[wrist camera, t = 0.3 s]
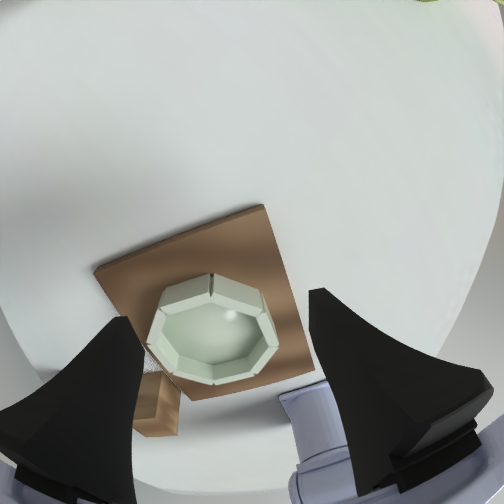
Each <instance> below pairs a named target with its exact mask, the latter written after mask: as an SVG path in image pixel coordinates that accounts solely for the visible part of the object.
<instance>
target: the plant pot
mask: <svg viewBox="0 0 504 504" xmlns="http://www.w3.org/2000/svg"><path fill="white" fill-rule="evenodd" d="M419 1H423V2H430V1H437V0H419ZM493 1H495V2H497V3H500V4H504V0H493Z"/></svg>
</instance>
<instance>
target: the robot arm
mask: <svg viewBox="0 0 504 504" xmlns="http://www.w3.org/2000/svg"><path fill="white" fill-rule="evenodd" d="M309 332H310V336H311V339H312V343H313V346H314V350H315V353H316V355H317V357H318V360H319V362H320V364H321V367H322V369H323V372H324V374H325V376H326V379H327V381H324V382H321V383H318V384H315V385H312V386H309V387H306V388H303V389H300V390H296V391H293V392H290V393H286V394H283V395H280V396H279V400H280V402H281V404H282V406H283V408H284V409H285V411H286V413H287V415H288V417H289V418H290V420H291V424H292V428H293V433H294V438H295V442H296V447H297V451H298V456H299V461H300V464H297V465H296V467H297V471H295V472H293V473H292V475H291V477H290V479H289V483H288V487H289V495H290V499H291V502H292V504H486V503H487V502H488V501H489V500H490V499H491V498H492V497H493V496H494V495H495V494H497V493H498V492H499V491H500V490H501V489H502V488H503V487H504V414H502V415H501V416H500V417H499V418H497V419H496V420H495V421H494V422H492V423H491V424H490V425H488V426H487V427H486V428H485V429H483V430H482V431H481V432H480V433H479V434H476V432H475V430H474V429H475V428H476V427H477V423H476V421H475V419H474V418H475V417H476V416H477V414H478V413H479V412H480V411H481V410H482V409H483V408H484V406H485V405H486V404H487V403H488V401H489V400H490V398H491V397H492V395H493V392H494V388H493V387H492V385H491V384H490V382H489V381H488V380H487V378H486V377H485V375H484V374H483V373H482V372H481V370H479V369H474V368H470V367H465V366H461V365H457V364H453V363H450V362H447V361H444V360H440V359H437V358H435V357H432V356H429V355H427V354H424V353H422V352H420V351H418V350H415V349H413V348H411V347H409V346H407V345H405V344H403V343H401V342H399V341H397V340H395V339H394V338H392V337H390V336H388V335H387V334H385V333H383V332H382V331H380V330H379V329H377V328H376V327H374V326H373V325H371V324H370V323H368V322H367V321H365V320H364V319H363V318H361V317H360V316H359V315H357V314H356V313H355V312H353V311H352V310H351V309H350V308H348V307H347V306H346V305H345V304H343V303H342V302H341V301H340V300H339V299H337V298H336V297H335V296H334V295H333V294H331V293H330V292H329V291H328V290H326V289H325V288H319V289H314V290H309ZM144 356H145V350H144V348H143V346H142V344H141V343H140V341H139V339H138V337H137V335H136V333H135V331H134V329H133V327H132V325H131V323H130V321H129V318H128V316H120V317H114V318H113V319H112V320H111V321H110V322H109V323H108V324H107V325H106V326H105V327H104V328H103V329H102V330H101V331H100V332H99V333H98V334H97V335H96V336H95V337H94V338H93V339H92V340H91V341H90V342H89V343H88V344H87V346H86V347H85V348H84V349H83V350H82V351H81V352H80V353H79V354H78V355H77V356H76V357H75V358H74V359H73V360H72V361H71V362H70V363H69V364H68V365H67V366H66V367H65V368H64V369H63V370H61V371H60V372H59V373H58V374H57V375H56V376H55V377H53V378H52V379H51V380H50V381H49V382H47V383H46V384H45V385H43V386H42V387H40V388H39V389H38V390H36V391H35V392H34V393H32V394H31V395H29V396H27V397H26V398H24V399H23V400H21V401H19V402H17V403H16V404H14V405H12V406H10V407H8V408H6V409H3V410H2V411H0V452H1V453H2V454H4V455H5V456H6V457H8V458H9V459H10V460H12V461H13V462H15V463H16V464H17V468H16V469H15V468H13V467H12V466H10V465H8V464H7V463H5V462H3V461H2V460H0V504H137V501H136V496H135V489H134V483H133V472H132V425H133V418H134V412H135V407H136V402H137V398H138V393H139V389H140V384H141V379H142V375H143V367H144Z"/></svg>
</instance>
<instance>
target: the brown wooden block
mask: <svg viewBox="0 0 504 504" xmlns="http://www.w3.org/2000/svg"><path fill="white" fill-rule="evenodd" d="M180 395H181V391H180V389H179V388H178V387H177V386H176V385H175V384H174V383H173V382H172V381H171V380H170V379H169V377H168V376H167V375H166V374H165V373H164V372H163V371H159V372H154V373H148V374H143V375H142V379H141V384H140V389H139V393H138V398H137V402H136V407H135V412H134V418H133V425H132V428H134V429H135V430H136V431H138V432H139V433H141V434H142V435H143V436H145V437H162V436H176V435H177V432H178V418H179V406H180Z"/></svg>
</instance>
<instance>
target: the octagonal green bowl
mask: <svg viewBox="0 0 504 504" xmlns="http://www.w3.org/2000/svg"><path fill="white" fill-rule="evenodd" d="M146 343H148V344H147V346H148V347H149V349H150V350H151V351H152V352H153V354H154V355H155V356H156V357H157V359H158V360H159V361H160V362H161V363H162V365H163V366H164V367H165V368H166V369H167V370H168V372H169V373H171V372H173V375H175V376H179V377H182V378H186V379H189V380H193V381H197V382H201V383H204V384H208V385H212V384H213V383H214V384H215V385H220V384H224V383H229V382H233V381H237V380H241V379H245V378H249V377H253V376H254V374H258V373H259V372H260V371H261V369H262V368H263V367H264V366H265V364H266V363H267V362H268V361H269V359H270V358H271V357H272V356H273V354H274V353H275V352H276V351H277V349H278V348H279V347H278V345H279V342H278V338H277V333H276V329H275V325H274V322H273V320H272V317H271V315H270V312H269V310H268V307H267V305H266V302H265V299H264V297H263V294H262V292H261V293H259V290H258V289H256V288H253V287H250V286H247V285H245V284H242V283H239V282H236V281H234V280H231V279H228V278H226V277H223V276H220V275H218V274H215V273H214V275H213V277H211V275H210V273H209V274H206V275H203V276H200V277H197V278H194V279H191V280H188V281H185V282H182V283H179V284H176V285H173V286H170V287H167V288H166V289H165V291H164V290H163V292H162V295H161V298H160V300H159V303H158V306H157V309H156V312H155V315H154V317H153V320H152V323H151V327H150V331H149V334H148V338H147V341H146Z"/></svg>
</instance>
